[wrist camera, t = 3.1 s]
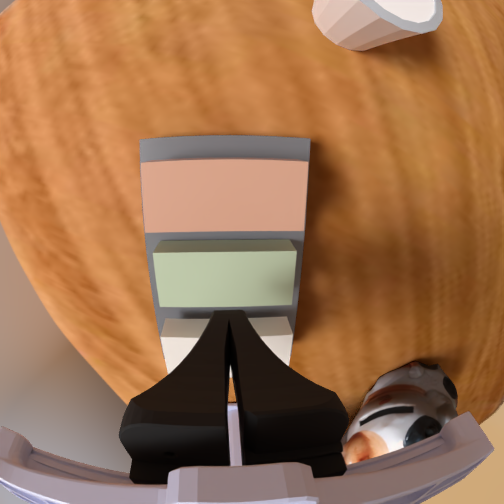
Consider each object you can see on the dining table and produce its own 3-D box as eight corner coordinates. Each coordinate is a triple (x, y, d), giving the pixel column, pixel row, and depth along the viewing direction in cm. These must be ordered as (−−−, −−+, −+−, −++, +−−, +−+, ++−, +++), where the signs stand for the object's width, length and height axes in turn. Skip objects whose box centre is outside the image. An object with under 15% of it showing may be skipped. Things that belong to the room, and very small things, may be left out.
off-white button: (282, 355, 20) (287, 374, 18) (172, 357, 19) (168, 376, 17) (286, 316, 19) (293, 334, 17) (165, 318, 18) (160, 337, 16)
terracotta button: (294, 220, 16) (303, 231, 14) (154, 222, 16) (145, 232, 14) (298, 159, 15) (308, 161, 13) (151, 160, 14) (140, 162, 12)
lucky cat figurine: (355, 439, 32) (341, 514, 19) (329, 377, 32) (306, 456, 19) (454, 406, 26) (475, 479, 13) (443, 336, 27) (478, 405, 14)
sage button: (285, 289, 19) (291, 304, 17) (165, 290, 18) (159, 306, 16) (289, 239, 18) (296, 250, 16) (160, 240, 17) (152, 252, 15)
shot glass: (288, -11, 13) (315, -63, 7) (366, -16, 13) (410, -53, 6) (325, 65, 16) (373, 34, 9) (401, 54, 15) (460, 34, 9)
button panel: (286, 340, 23) (290, 355, 22) (167, 342, 22) (164, 358, 21) (301, 138, 18) (310, 138, 16) (148, 139, 17) (139, 139, 15)
